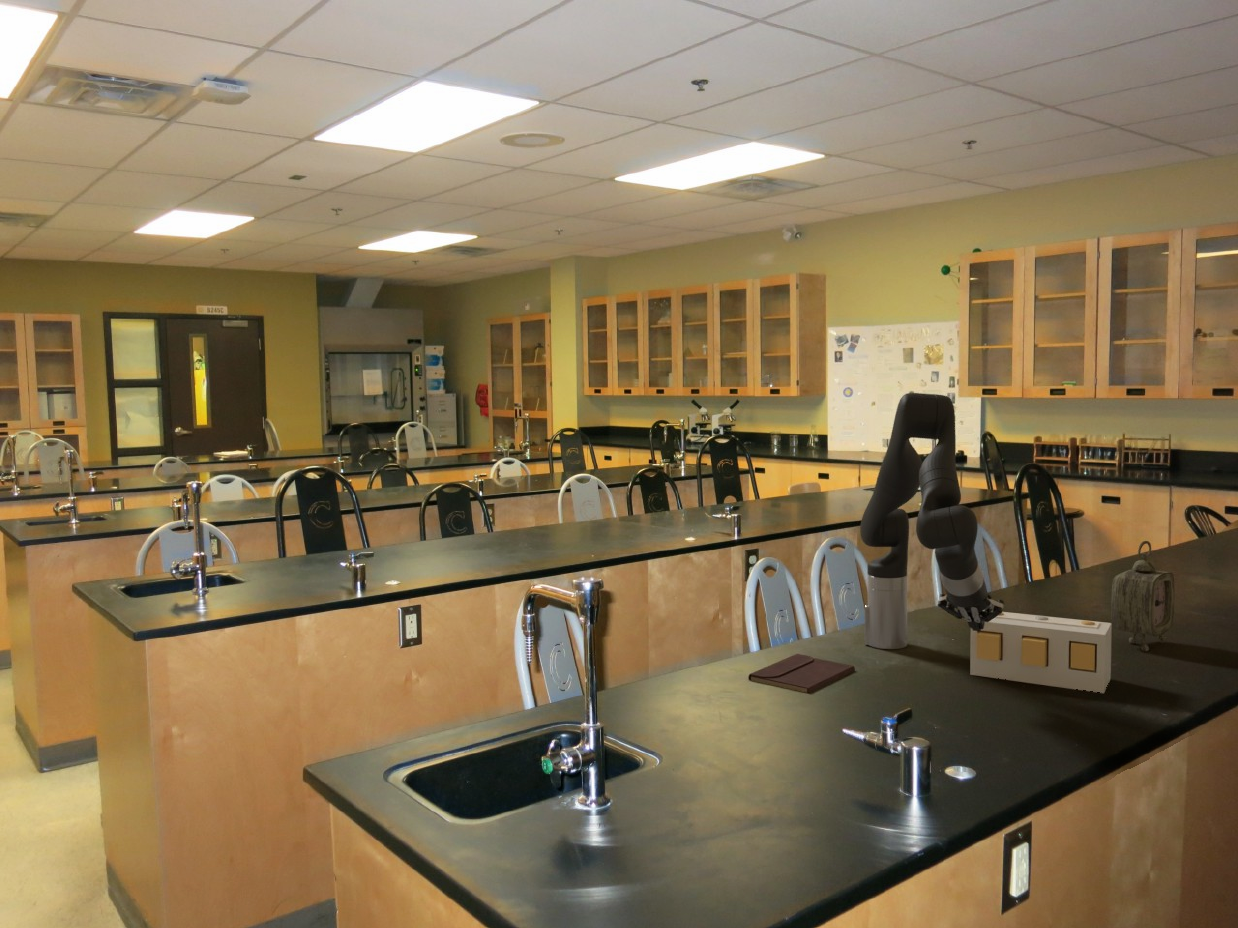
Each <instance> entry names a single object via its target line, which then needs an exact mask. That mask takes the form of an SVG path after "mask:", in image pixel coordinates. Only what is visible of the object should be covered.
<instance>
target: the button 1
mask: <svg viewBox="0 0 1238 928" xmlns="http://www.w3.org/2000/svg"><path fill="white" fill-rule="evenodd" d="M977 658H979V659H987V660H995V661H999V660H1000V659H1001V658H1002V634H1001V633H993V632H984V631H980V632H979V633H978V634H977Z"/></svg>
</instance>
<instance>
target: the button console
mask: <svg viewBox="0 0 1238 928" xmlns="http://www.w3.org/2000/svg"><path fill="white" fill-rule="evenodd" d="M983 611H985V609H984V610H983ZM984 622H985V621H984ZM1112 627H1113V625H1112V622H1106V621H1105V622H1103V621H1095V620H1094V621H1093V620H1087V619H1085V620H1084V619H1076V618H1075V619H1074V618H1066V617H1055V616H1047V615H1046V616H1045V615H1038V614H1027V613H1018V612H1017V613H1016V612H1007V611H1002V613H1001V614H999V615H998V616H997V617H995V618H994V619H992V620H991V621H989V622H985V624H984V628H983V629H981V631H984V632H993V633H1001V634H1002V658H1001V659H1000V660H999V661H995V660H987V659H979V658H977V634H978V633H979V632H980V631H973V629H972V628H970V636H969V637H970V640H969V641H970V649H969V650H970V652H969V654H970V655H969V657H970V661H969V663H970V667H969V668H970V670H969V672H970V674H969V675H970V676H975V677H976V676H979V677H984V678H992V679H998V678H999V680H1005V679H1006V680H1007V681H1011V682H1012V681H1013V682H1021V683H1026V684H1034V685H1040V686H1041V685H1043V686H1048V687H1056V688H1063V689H1069V690H1076V689H1078V690H1077V691H1083V690H1086V691H1085V692H1090V691H1093V692H1092V693H1097V692H1100V693H1099V694H1105V692H1106V689H1107V688H1108V686H1109V684H1108V683H1110V681H1111V677H1112V673H1111V672H1112V670H1111V669H1112V629H1113V628H1112ZM1025 636H1027V637H1036V638H1044V639H1047V664H1046V666H1045V667H1041V666H1033V665H1025V664H1022V639H1023V638H1024V637H1025ZM1072 641H1077V642H1085V643H1094V644H1097V661H1096V669H1095V671H1093V670H1085V669H1077V668H1071V642H1072ZM1006 680H1005V681H1006ZM1107 685H1108V686H1107ZM1106 687H1107V688H1106Z"/></svg>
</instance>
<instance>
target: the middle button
mask: <svg viewBox="0 0 1238 928" xmlns="http://www.w3.org/2000/svg"><path fill="white" fill-rule="evenodd" d="M1022 664H1025V665H1033V666H1041V667H1045V666H1046V664H1047V639H1044V638H1036V637H1027V636H1025V637H1024V638H1023V639H1022Z"/></svg>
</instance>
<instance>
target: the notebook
mask: <svg viewBox="0 0 1238 928" xmlns="http://www.w3.org/2000/svg"><path fill="white" fill-rule="evenodd" d="M855 668H856V667H855V666H854V665H851V664H847V663H841V662H836V661H832V660H825V659H820V658H815V657H812V656H810V655H807V654H800V653H796V654H793V655H791V656H788V657H785V658H784V659H781V660H780V661H776V662H775V663H772V664H770V665H767V666H766V667H762V668H761V669H759V670H755V671H754V672H751V673H749V675H748V677H747V678H748V681H752V682H756V683H760V684H765V685H771V686H774V687H779V688H783V689H784V688H785V689H789V690H793V691H797V692H801V693H806V694H812V693H813V692H815V691H817V690H819V689H822V688H823V687H825V686H827V685H829V684H831V683H833V682H835V681H837V680H839V679H841V678H843V677H845V676H848V675H850V674H851V673H853V672H855V670H856V669H855Z"/></svg>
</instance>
